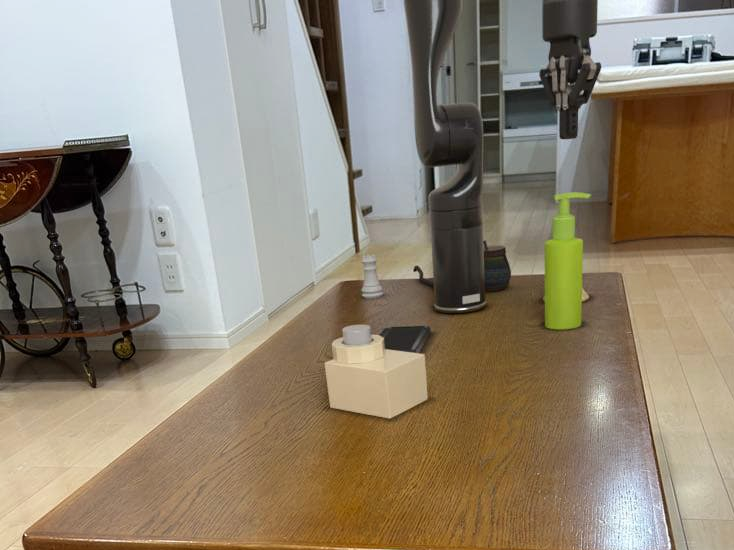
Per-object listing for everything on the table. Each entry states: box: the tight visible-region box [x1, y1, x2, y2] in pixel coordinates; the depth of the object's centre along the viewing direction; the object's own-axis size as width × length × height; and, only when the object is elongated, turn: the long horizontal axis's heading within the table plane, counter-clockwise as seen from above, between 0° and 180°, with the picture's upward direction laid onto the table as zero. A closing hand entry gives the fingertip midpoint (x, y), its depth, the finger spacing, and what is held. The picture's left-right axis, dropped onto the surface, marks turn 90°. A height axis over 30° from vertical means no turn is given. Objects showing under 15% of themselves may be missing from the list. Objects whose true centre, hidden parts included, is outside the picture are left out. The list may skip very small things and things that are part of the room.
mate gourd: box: [483, 239, 512, 293], centre depth 161 cm, size 7×8×10 cm
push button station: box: [324, 333, 429, 419], centre depth 105 cm, size 11×8×8 cm
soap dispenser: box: [544, 191, 592, 331], centre depth 130 cm, size 6×7×20 cm
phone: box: [378, 325, 431, 354], centre depth 131 cm, size 8×1×15 cm
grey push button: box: [341, 324, 372, 346], centre depth 104 cm, size 4×4×2 cm
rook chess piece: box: [360, 253, 384, 300], centre depth 165 cm, size 4×4×8 cm
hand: (568, 138), depth 122 cm, fingers closed
